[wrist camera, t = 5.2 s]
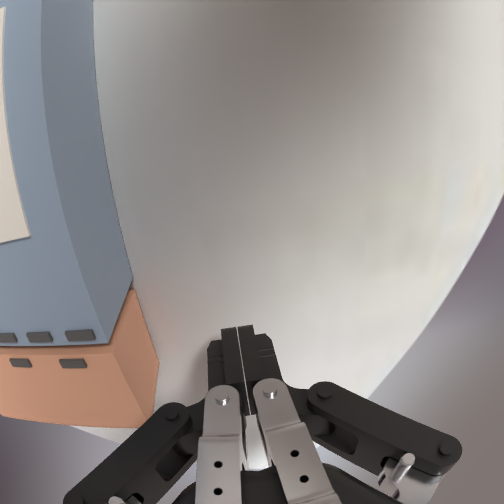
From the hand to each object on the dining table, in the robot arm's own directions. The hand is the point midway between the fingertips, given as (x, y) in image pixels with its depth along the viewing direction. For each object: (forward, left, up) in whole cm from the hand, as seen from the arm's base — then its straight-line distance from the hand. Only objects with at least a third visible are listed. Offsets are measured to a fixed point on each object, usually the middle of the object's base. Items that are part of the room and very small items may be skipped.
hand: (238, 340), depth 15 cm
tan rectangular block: (+10, 0, -2) cm, 10 cm away
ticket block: (+10, -10, -2) cm, 14 cm away
